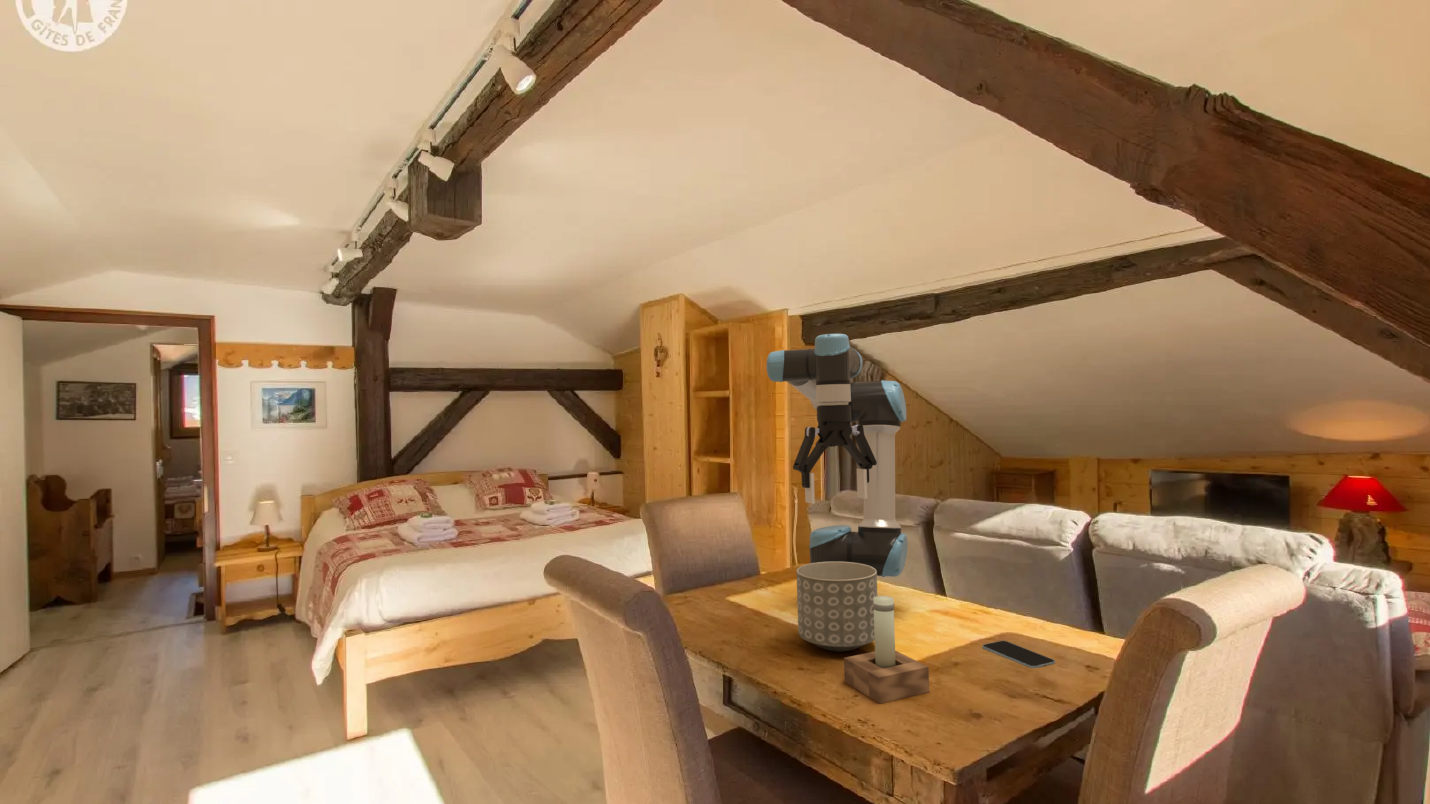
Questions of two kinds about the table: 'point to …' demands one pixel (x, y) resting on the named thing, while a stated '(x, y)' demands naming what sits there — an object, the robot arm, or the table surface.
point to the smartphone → (1018, 654)
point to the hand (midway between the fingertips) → (836, 500)
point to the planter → (836, 604)
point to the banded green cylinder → (884, 631)
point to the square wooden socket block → (886, 677)
